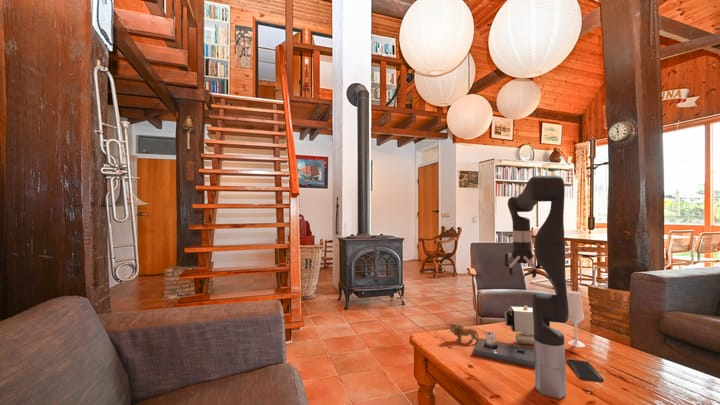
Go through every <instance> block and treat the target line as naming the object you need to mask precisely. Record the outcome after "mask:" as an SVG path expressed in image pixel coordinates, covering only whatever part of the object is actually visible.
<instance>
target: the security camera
mask: <svg viewBox="0 0 720 405" xmlns="http://www.w3.org/2000/svg"><path fill="white" fill-rule="evenodd" d="M503 314H504V315H503V316H504V322H505V326H506V327H509V328H510V329H511V331H512V332H517V333H515V342H516V343H519V344H520V345H531V346H532V345H533V346H534V321H533V310H532V307H529V306H528V305H524V306H508V310H505V311H504V313H503ZM544 323H545V324H546V325H547V326H549V327H550V326H551V324H550V323H551V322H548V321H544Z"/></svg>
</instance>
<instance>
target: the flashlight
mask: <svg viewBox="0 0 720 405" xmlns="http://www.w3.org/2000/svg"><path fill="white" fill-rule="evenodd" d="M485 339H486V348H490V349H495V350H496V343H495V341H496V333H495V332H493V331H492V332H491V331H486V332H485Z"/></svg>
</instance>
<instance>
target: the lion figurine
mask: <svg viewBox="0 0 720 405" xmlns="http://www.w3.org/2000/svg"><path fill="white" fill-rule="evenodd" d="M449 331H450V332H451V333H452V334H453V335H454V336H456V337H457V338H456V341H457V343H462V336H463V337H468V336H470V337H471V339H469V342H473V341H474V340H475V341H476V342H475V345H476V344H477V342H478V340H479V339H480V338H479V335H478V334H479V333H478V331H477V330H476V329H475V328H473V327H466V328H465V327H463V326H462V325H461V324H458V323H457V322H451V323H449Z"/></svg>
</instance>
